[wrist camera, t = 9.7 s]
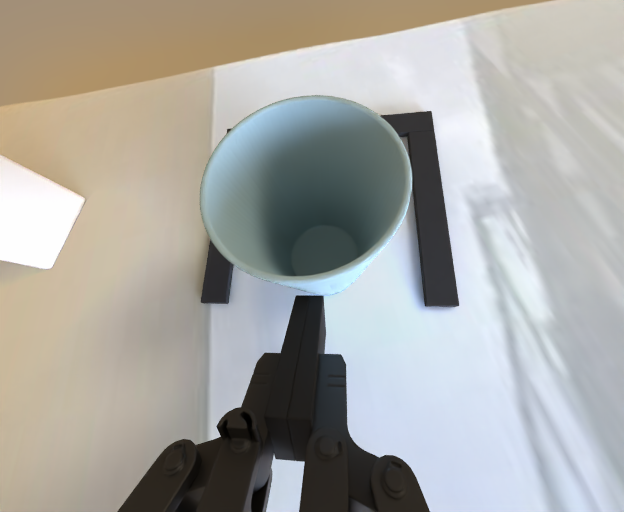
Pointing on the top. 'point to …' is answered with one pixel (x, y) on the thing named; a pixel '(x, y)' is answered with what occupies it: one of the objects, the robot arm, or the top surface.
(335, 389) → the robot arm
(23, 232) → the medicine bottle
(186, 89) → the top surface
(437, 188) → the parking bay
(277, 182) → the cup
